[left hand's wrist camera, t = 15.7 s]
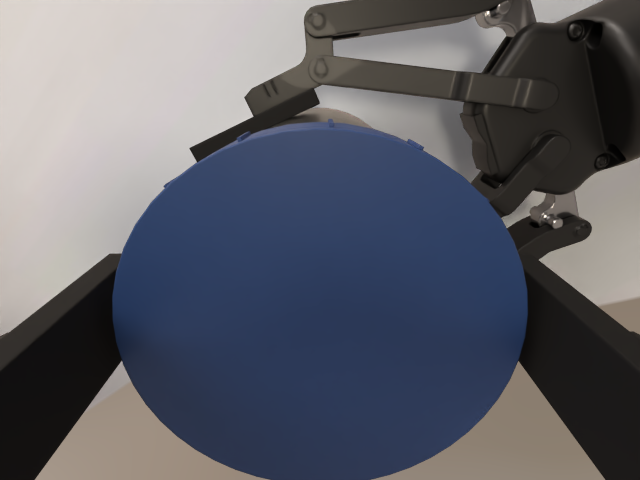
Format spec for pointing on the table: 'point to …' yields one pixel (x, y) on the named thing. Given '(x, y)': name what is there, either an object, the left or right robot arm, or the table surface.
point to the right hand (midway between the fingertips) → (251, 241)
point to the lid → (320, 304)
